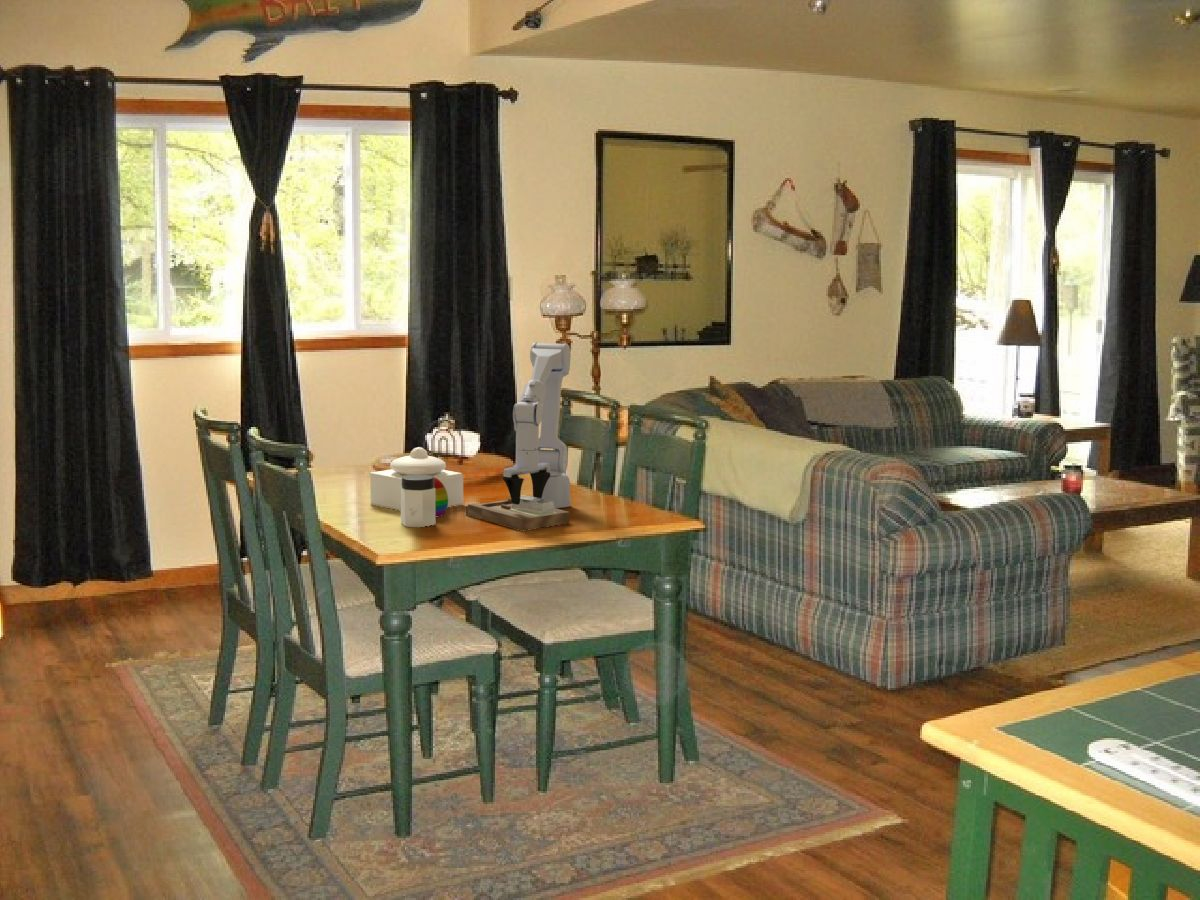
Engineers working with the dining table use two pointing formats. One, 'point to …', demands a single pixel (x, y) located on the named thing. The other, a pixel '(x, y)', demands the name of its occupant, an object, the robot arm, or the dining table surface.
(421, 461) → the butter dish
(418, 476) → the jar
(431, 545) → the dining table surface
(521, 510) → the pad
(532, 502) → the bar
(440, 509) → the decorative egg
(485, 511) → the board
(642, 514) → the dining table surface
